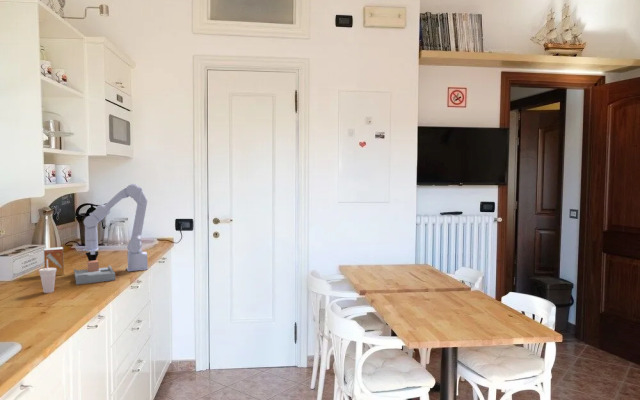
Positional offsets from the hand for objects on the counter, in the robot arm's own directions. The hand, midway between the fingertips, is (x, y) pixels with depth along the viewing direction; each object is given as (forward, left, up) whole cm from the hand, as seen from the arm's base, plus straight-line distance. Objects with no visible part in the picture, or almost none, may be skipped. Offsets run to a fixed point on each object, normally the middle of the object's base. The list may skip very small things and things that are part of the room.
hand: (92, 266), depth 222 cm
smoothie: (+19, +30, -3) cm, 36 cm away
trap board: (0, +12, -3) cm, 13 cm away
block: (0, +5, -1) cm, 5 cm away
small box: (+17, -4, -3) cm, 17 cm away
